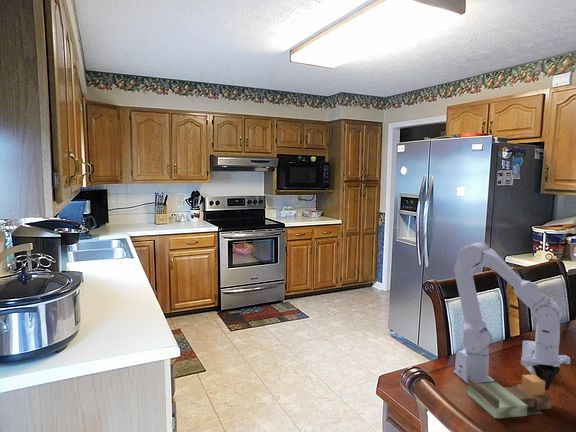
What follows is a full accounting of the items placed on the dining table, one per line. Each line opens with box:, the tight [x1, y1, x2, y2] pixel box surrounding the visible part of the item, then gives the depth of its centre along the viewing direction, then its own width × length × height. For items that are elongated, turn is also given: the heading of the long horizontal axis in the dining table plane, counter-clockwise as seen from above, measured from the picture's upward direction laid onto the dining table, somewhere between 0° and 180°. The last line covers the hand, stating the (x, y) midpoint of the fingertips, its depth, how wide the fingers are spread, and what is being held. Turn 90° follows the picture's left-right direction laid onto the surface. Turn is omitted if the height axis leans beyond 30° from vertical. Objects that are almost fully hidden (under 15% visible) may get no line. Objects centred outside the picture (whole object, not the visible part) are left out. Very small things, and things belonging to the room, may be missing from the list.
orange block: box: [521, 374, 546, 396], centre depth 108 cm, size 4×4×4 cm
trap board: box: [467, 378, 553, 419], centre depth 107 cm, size 19×12×5 cm, turn 99°
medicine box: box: [521, 340, 537, 376], centre depth 127 cm, size 8×4×9 cm, turn 168°
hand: (543, 388), depth 109 cm, fingers closed
